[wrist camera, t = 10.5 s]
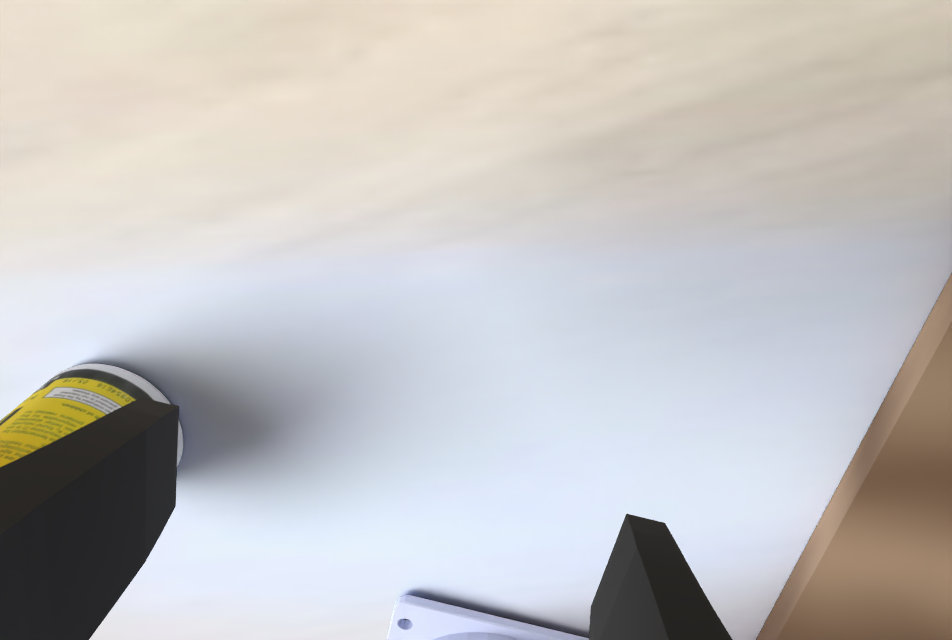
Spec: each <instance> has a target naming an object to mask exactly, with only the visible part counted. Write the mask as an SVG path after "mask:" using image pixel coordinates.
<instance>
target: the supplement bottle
mask: <svg viewBox="0 0 952 640" xmlns="http://www.w3.org/2000/svg"><path fill="white" fill-rule="evenodd" d="M139 398H146V399H150V400H154V401H159V402H163V403H167V404H170V402H169V401H168V400H167V399H166V397H165V396H164V395H163V394H162V393H161V392H160V391H159V390H158V389H157V388H156V387H154V386H153V385H152V384H151V383H149V382H148V381H146V380H145V379H143V378H142V377H140V376H138V375H136V374H134V373H132V372H130V371H127V370H124V369H122V368H118V367H115V366H110V365H105V364H82V365H77V366H73V367H71V368H68V369H66V370H64V371H62V372H60V373H59V374H57V375H56V376H54V377H53V378H52V379H50V380H49V381H48V382H47V383H45V384H44V385H43V386H42V387H41V388H39V389H38V390H37V391H36V392H34V393H33V394H32V395H31V396H30V397H29V398H27V399H26V400H25V401H24V402H23V403H21V404H20V405H19V406H18V407H17V408H15V409H14V410H13V411H12V412H11V413H9V414H8V415H7V416H5V417H4V418H3V419H2V420H1V421H0V467H2V466H4V465H6V464H8V463H10V462H13V461H15V460H17V459H19V458H21V457H23V456H25V455H27V454H29V453H31V452H33V451H35V450H37V449H39V448H41V447H44V446H46V445H48V444H50V443H52V442H54V441H56V440H58V439H60V438H62V437H64V436H66V435H68V434H70V433H72V432H74V431H76V430H78V429H79V428H81V427H83V426H85V425H87V424H89V423H91V422H93V421H95V420H97V419H99V418H101V417H103V416H105V415H107V414H109V413H111V412H113V411H115V410H117V409H119V408H121V407H123V406H125V405H127V404H129V403H131V402H133V401H135V400H137V399H139ZM182 452H183V434H182V428H181V425H180V421H178V449H177V466H178V464H179V462H180V459H181V456H182Z"/></svg>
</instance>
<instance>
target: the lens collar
mask: <svg viewBox="0 0 952 640" xmlns="http://www.w3.org/2000/svg"><path fill="white" fill-rule="evenodd" d="M756 640H952V274H951V275H950V277H949V279H948V281H947V283H946V285H945V287H944V288H943V290H942V292H941V294H940V296H939V298H938V300H937V302H936V303H935V305H934V307H933V309H932V311H931V313H930V315H929V317H928V318H927V320H926V322H925V324H924V326H923V328H922V330H921V332H920V333H919V335H918V337H917V339H916V341H915V343H914V345H913V347H912V348H911V350H910V352H909V354H908V356H907V358H906V360H905V362H904V363H903V365H902V367H901V369H900V371H899V373H898V375H897V377H896V378H895V380H894V382H893V384H892V386H891V388H890V390H889V392H888V393H887V395H886V397H885V399H884V401H883V403H882V405H881V407H880V408H879V410H878V412H877V414H876V416H875V418H874V420H873V421H872V423H871V425H870V427H869V429H868V431H867V433H866V435H865V436H864V438H863V440H862V442H861V444H860V446H859V448H858V450H857V451H856V453H855V455H854V457H853V459H852V461H851V463H850V465H849V466H848V468H847V470H846V472H845V474H844V476H843V478H842V480H841V481H840V483H839V485H838V487H837V489H836V491H835V493H834V495H833V496H832V498H831V500H830V502H829V504H828V506H827V508H826V510H825V511H824V513H823V515H822V517H821V519H820V521H819V523H818V525H817V526H816V528H815V530H814V532H813V534H812V536H811V538H810V539H809V541H808V543H807V545H806V547H805V549H804V551H803V553H802V554H801V556H800V558H799V560H798V562H797V564H796V566H795V568H794V569H793V571H792V573H791V575H790V577H789V579H788V581H787V583H786V584H785V586H784V588H783V590H782V592H781V594H780V596H779V598H778V599H777V601H776V603H775V605H774V607H773V609H772V611H771V613H770V614H769V616H768V618H767V620H766V622H765V624H764V626H763V628H762V629H761V631H760V633H759V635H758V637H757V639H756Z"/></svg>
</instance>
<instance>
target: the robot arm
mask: <svg viewBox="0 0 952 640" xmlns="http://www.w3.org/2000/svg"><path fill="white" fill-rule="evenodd" d="M178 421H179V406H175V405H171V404H167V403H163V402H159V401H154V400H150V399H146V398H139V399H137V400H135V401H133V402H131V403H129V404H127V405H125V406H123V407H121V408H119V409H117V410H115V411H113V412H111V413H109V414H107V415H105V416H103V417H101V418H99V419H97V420H95V421H93V422H91V423H89V424H87V425H85V426H83V427H81V428H79V429H78V430H76V431H74V432H72V433H70V434H68V435H66V436H64V437H62V438H60V439H58V440H56V441H54V442H52V443H50V444H48V445H46V446H44V447H41V448H39V449H37V450H35V451H33V452H31V453H29V454H27V455H25V456H23V457H21V458H19V459H17V460H15V461H13V462H10V463H8V464H6V465H4V466H2V467H0V640H89V639H90V637H91V636H92V635H93V633H94V632H95V631H96V629H97V628H98V626H99V625H100V624H101V622H102V621H103V620H104V618H105V617H106V616H107V614H108V613H109V611H110V610H111V609H112V607H113V606H114V605H115V603H116V602H117V600H118V599H119V598H120V596H121V595H122V593H123V592H124V591H125V589H126V588H127V587H128V585H129V584H130V582H131V581H132V580H133V578H134V577H135V575H136V574H137V573H138V571H139V570H140V568H141V567H142V565H143V564H144V563H145V561H146V559H147V557H148V556H149V554H150V552H151V550H152V549H153V547H154V545H155V543H156V542H157V540H158V538H159V536H160V534H161V533H162V531H163V529H164V527H165V525H166V523H167V521H168V519H169V518H170V516H171V514H172V512H173V510H174V508H175V504H176V476H177V449H178ZM402 618H403V619H402ZM404 619H408V620H410V621H406V620H404ZM387 640H732V638H731V637H730V635H729V634H728V632H727V630H726V629H725V627H724V625H723V624H722V622H721V620H720V619H719V617H718V616H717V614H716V612H715V611H714V609H713V607H712V606H711V604H710V602H709V600H708V599H707V597H706V595H705V594H704V592H703V590H702V588H701V587H700V585H699V583H698V581H697V579H696V578H695V576H694V574H693V572H692V571H691V569H690V567H689V565H688V563H687V562H686V560H685V558H684V556H683V554H682V553H681V551H680V549H679V547H678V545H677V544H676V542H675V540H674V538H673V536H672V535H671V533H670V531H669V529H668V528H667V526H666V524H665V523H663V522H658V521H654V520H650V519H646V518H642V517H638V516H633V515H629V514H626V517H625V519H624V522H623V524H622V527H621V530H620V532H619V535H618V537H617V540H616V543H615V545H614V548H613V551H612V553H611V556H610V558H609V561H608V564H607V566H606V569H605V571H604V574H603V577H602V579H601V582H600V584H599V587H598V590H597V592H596V595H595V598H594V600H593V603H592V605H591V614H590V630H589V638H585V637H581V636H577V635H573V634H568V633H564V632H560V631H556V630H552V629H548V628H544V627H539V626H535V625H531V624H527V623H523V622H519V621H515V620H511V619H506V618H502V617H498V616H494V615H490V614H486V613H482V612H477V611H473V610H469V609H465V608H461V607H457V606H453V605H449V604H444V603H440V602H436V601H432V600H428V599H424V598H420V597H415V596H411V595H404V596H401V597H399V598H398V599H397V600H396V602H395V605H394V609H393V613H392V618H391V622H390V627H389V631H388V636H387Z"/></svg>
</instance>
